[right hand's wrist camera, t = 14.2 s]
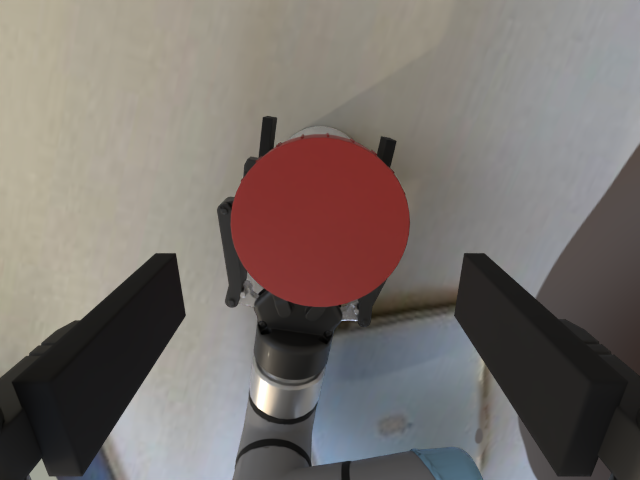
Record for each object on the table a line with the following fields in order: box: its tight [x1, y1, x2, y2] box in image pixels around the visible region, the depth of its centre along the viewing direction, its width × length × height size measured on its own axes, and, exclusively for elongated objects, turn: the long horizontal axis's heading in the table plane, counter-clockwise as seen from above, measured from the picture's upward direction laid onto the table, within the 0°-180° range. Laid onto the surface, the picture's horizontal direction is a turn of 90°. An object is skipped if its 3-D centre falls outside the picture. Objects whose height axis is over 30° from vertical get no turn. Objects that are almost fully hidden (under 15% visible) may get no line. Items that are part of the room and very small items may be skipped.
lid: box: [231, 133, 410, 307], centre depth 20 cm, size 10×10×2 cm
